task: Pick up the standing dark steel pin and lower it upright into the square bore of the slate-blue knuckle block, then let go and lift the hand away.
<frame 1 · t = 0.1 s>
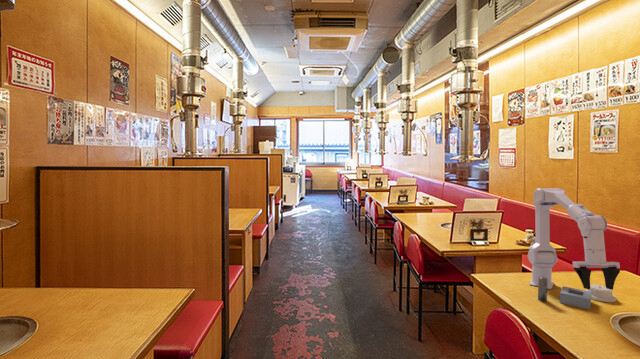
hand: (598, 288, 114), 10 cm above the table, tool pointing down, fingers open, 7 cm apart
knuckle block: (575, 302, 127), on the table
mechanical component: (599, 298, 132), on the table
steel pin: (542, 300, 130), on the table
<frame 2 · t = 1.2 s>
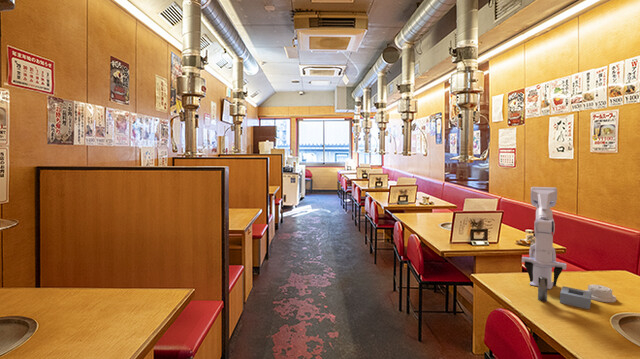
hand: (542, 283, 129), 7 cm above the table, tool pointing down, fingers open, 7 cm apart
nothing on the table moved.
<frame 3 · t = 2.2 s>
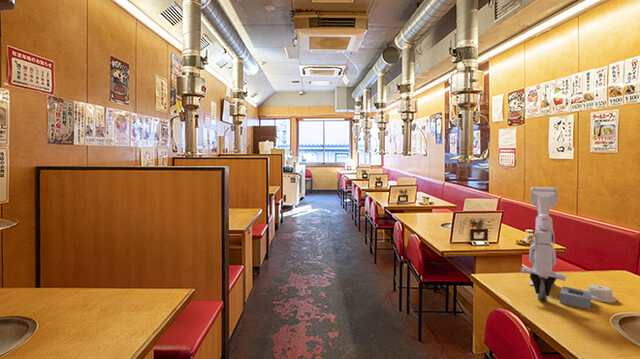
hand: (542, 294, 130), 2 cm above the table, tool pointing down, fingers closed on steel pin, 3 cm apart
steel pin: (542, 300, 130), on the table, touching gripper
everything else where it was.
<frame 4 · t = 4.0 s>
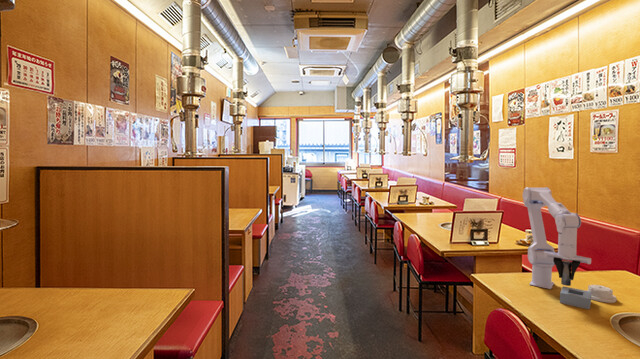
hand: (566, 278, 128), 9 cm above the table, tool pointing down, fingers closed on steel pin, 3 cm apart
steel pin: (566, 284, 128), point 7 cm above the table, touching gripper
everything else where it was.
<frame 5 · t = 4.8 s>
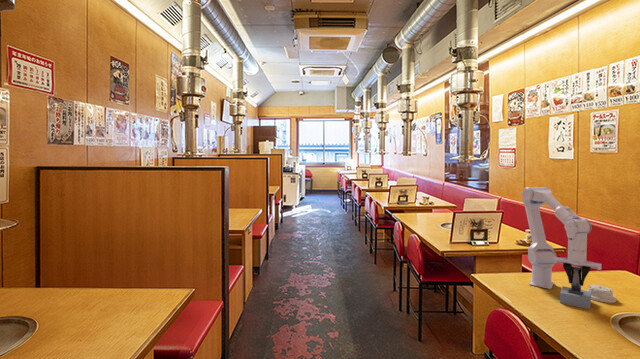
hand: (576, 283, 127), 7 cm above the table, tool pointing down, fingers closed on steel pin, 3 cm apart
steel pin: (575, 290, 127), point 5 cm above the table, touching gripper
everything else where it was.
when the fingers open (5 cm above the table, at t = 5.6 s): steel pin drops 2 cm, resting in knuckle block.
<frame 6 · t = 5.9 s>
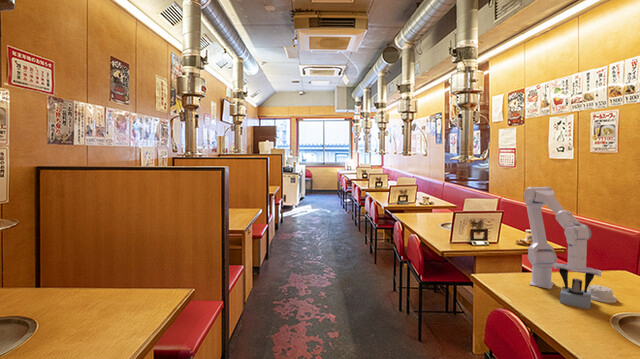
hand: (575, 290, 127), 5 cm above the table, tool pointing down, fingers open, 5 cm apart
steel pin: (575, 302, 127), resting in knuckle block
everything else where it was.
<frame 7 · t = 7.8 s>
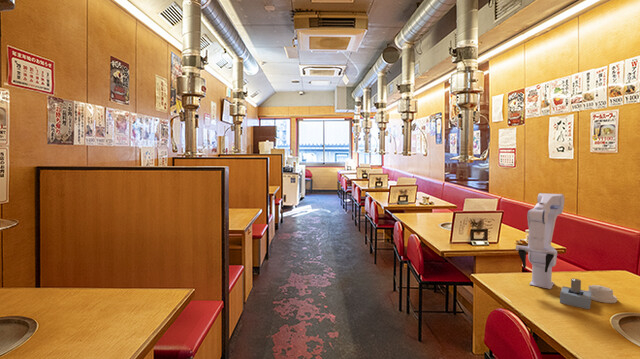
hand: (535, 269, 137), 10 cm above the table, tool pointing down, fingers open, 7 cm apart
nothing on the table moved.
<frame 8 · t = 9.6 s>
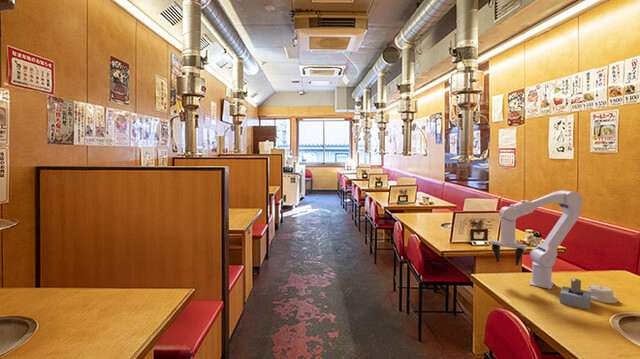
hand: (507, 263, 147), 9 cm above the table, tool pointing down, fingers open, 7 cm apart
nothing on the table moved.
at the end: steel pin 0.1 cm off-centre on the knuckle block, point 0.0 cm above the knuckle block's base; steel pin tilted 0°; the gripper is holding nothing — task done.
